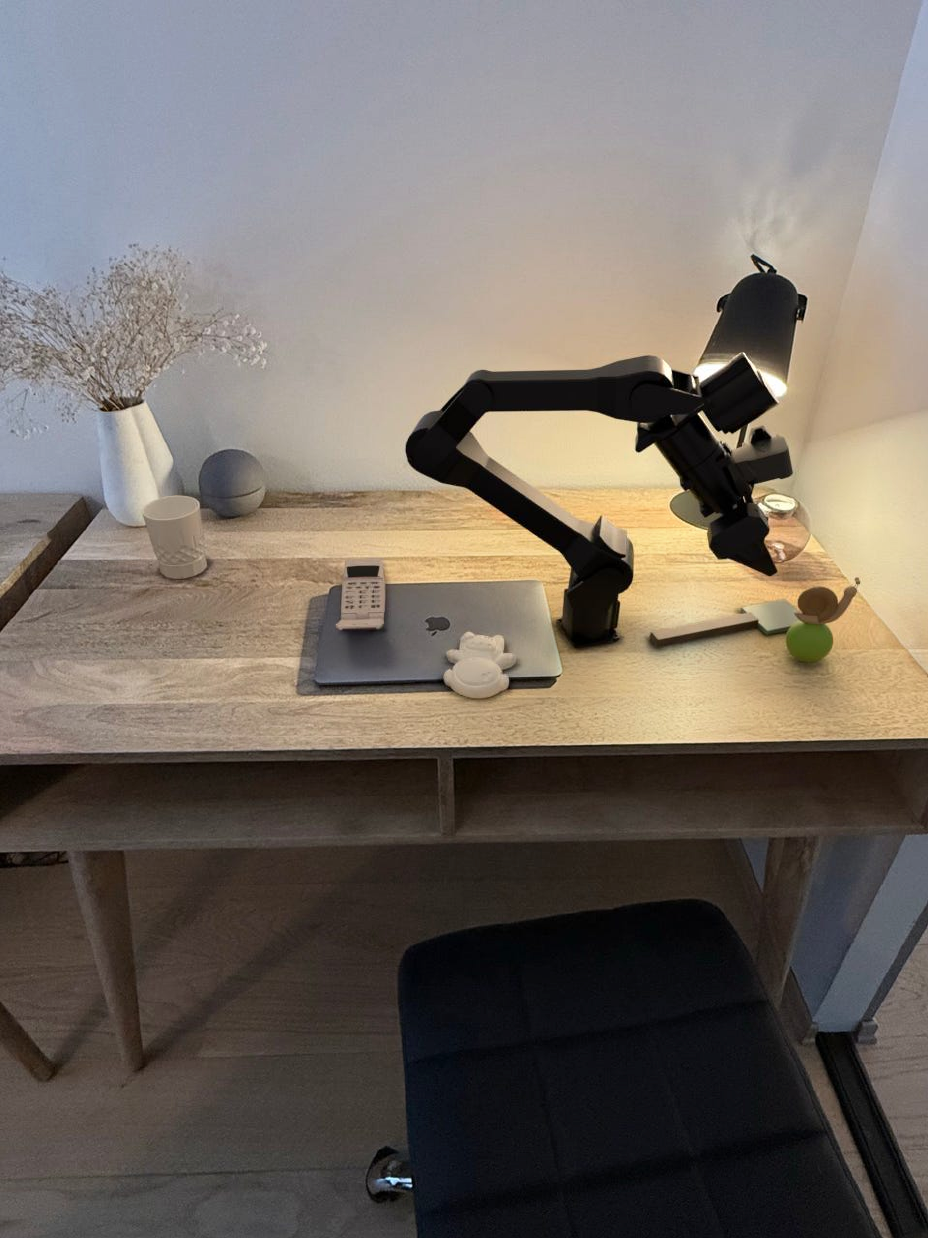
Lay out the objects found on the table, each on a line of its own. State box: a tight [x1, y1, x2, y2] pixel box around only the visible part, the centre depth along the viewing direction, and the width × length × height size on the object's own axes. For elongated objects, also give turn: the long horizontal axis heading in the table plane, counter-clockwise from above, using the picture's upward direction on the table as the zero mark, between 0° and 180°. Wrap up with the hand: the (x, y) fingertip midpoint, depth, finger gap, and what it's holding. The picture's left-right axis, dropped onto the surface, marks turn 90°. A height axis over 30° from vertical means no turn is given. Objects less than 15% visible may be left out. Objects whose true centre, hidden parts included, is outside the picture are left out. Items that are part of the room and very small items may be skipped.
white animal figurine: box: [443, 631, 518, 699], centre depth 101 cm, size 9×12×3 cm
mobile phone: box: [335, 557, 386, 631], centre depth 111 cm, size 6×6×25 cm
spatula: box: [649, 598, 802, 648], centre depth 109 cm, size 22×6×1 cm, turn 108°
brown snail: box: [785, 576, 861, 663], centre depth 101 cm, size 5×6×12 cm
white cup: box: [141, 495, 208, 580], centre depth 120 cm, size 8×8×10 cm
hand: (768, 554), depth 98 cm, fingers open, 9 cm apart
